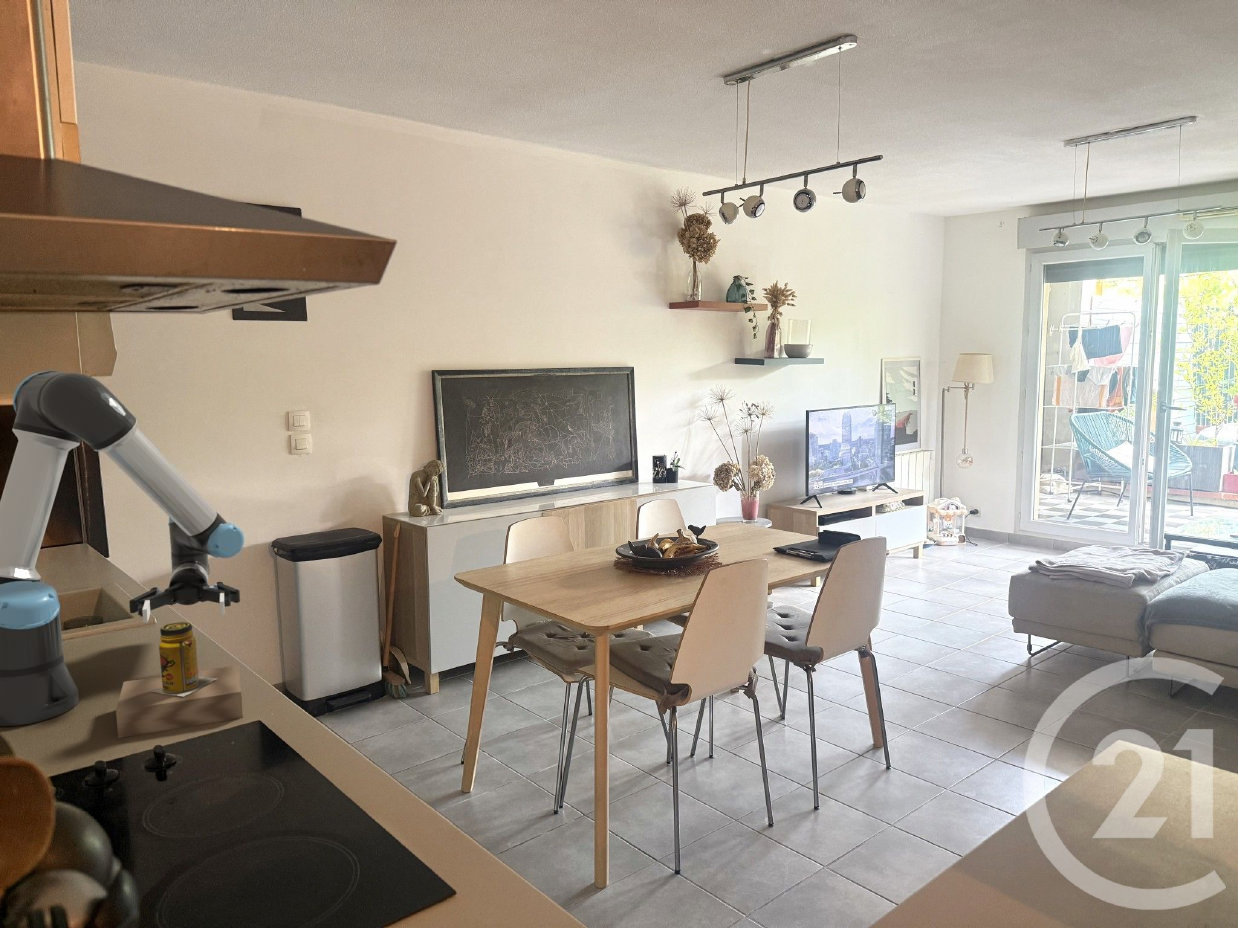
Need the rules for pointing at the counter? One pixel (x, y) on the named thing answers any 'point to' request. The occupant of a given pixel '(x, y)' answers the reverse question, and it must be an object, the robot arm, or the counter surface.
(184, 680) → the condiment
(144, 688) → the stand
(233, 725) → the counter surface
